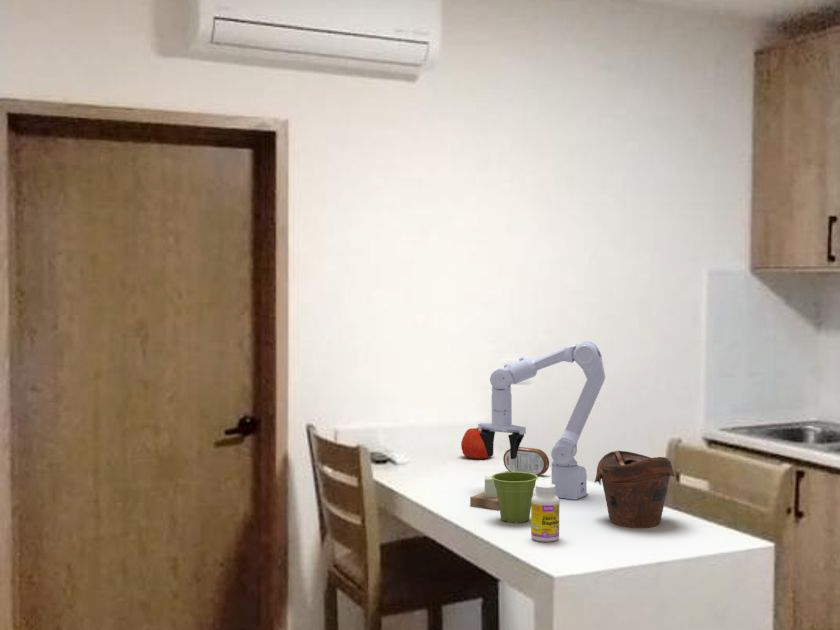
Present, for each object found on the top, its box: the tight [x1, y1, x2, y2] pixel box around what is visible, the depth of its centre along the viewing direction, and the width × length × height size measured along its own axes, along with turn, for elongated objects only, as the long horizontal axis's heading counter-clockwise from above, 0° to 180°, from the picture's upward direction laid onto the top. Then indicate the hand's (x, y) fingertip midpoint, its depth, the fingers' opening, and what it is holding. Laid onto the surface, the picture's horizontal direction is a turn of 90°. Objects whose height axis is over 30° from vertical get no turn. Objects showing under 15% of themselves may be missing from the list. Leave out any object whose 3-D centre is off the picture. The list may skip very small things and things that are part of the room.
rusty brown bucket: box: [594, 450, 675, 529], centre depth 253 cm, size 18×20×18 cm
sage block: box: [484, 475, 498, 498], centre depth 272 cm, size 4×4×5 cm
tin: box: [503, 446, 550, 477], centre depth 313 cm, size 15×3×8 cm, turn 58°
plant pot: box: [491, 471, 539, 524], centre depth 255 cm, size 12×12×11 cm
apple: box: [460, 426, 490, 460], centre depth 341 cm, size 11×11×11 cm
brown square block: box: [469, 491, 500, 512], centre depth 272 cm, size 9×9×3 cm
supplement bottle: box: [530, 482, 560, 543], centre depth 237 cm, size 7×7×13 cm
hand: (501, 457), depth 287 cm, fingers open, 7 cm apart
